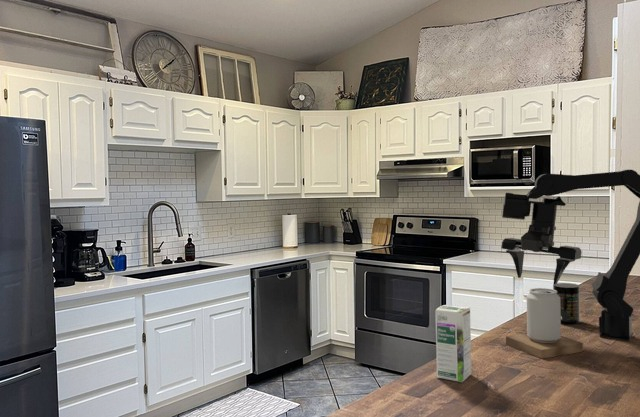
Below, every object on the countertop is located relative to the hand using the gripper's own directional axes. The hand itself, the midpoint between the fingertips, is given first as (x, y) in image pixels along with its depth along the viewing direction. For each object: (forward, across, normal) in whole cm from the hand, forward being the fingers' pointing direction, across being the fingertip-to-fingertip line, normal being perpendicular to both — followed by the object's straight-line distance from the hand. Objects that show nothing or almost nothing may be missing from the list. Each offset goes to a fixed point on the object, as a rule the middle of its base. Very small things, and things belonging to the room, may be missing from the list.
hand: (536, 280), depth 138 cm
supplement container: (+13, +4, +16) cm, 21 cm away
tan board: (+14, +7, -11) cm, 19 cm away
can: (+12, +7, -10) cm, 17 cm away
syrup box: (+17, -1, -40) cm, 43 cm away
